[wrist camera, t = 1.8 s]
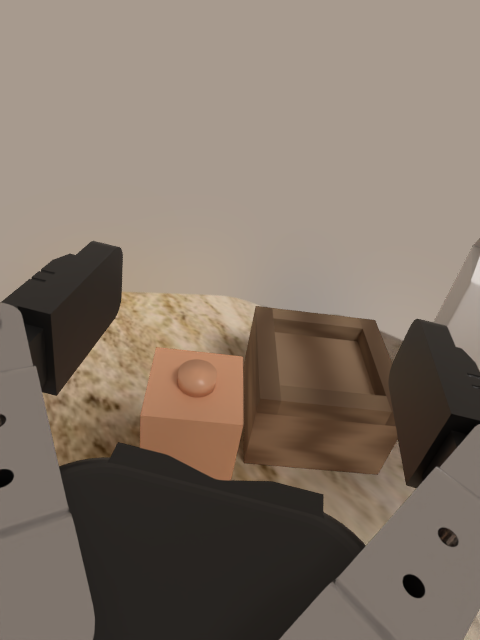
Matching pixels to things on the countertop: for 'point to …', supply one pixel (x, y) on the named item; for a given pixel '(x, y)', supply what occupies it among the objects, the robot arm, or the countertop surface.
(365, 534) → the countertop surface
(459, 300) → the milk carton
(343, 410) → the wooden box
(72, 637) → the robot arm
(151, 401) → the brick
